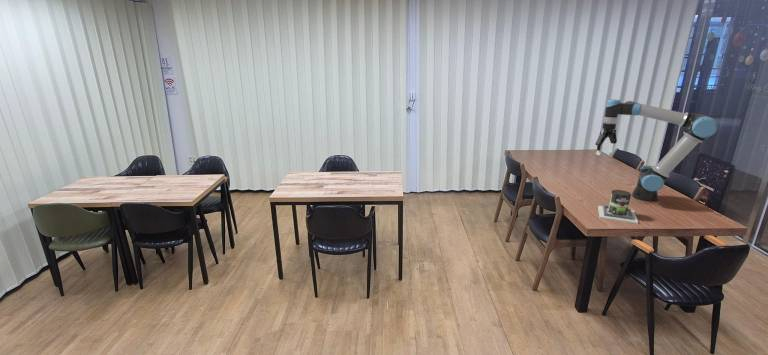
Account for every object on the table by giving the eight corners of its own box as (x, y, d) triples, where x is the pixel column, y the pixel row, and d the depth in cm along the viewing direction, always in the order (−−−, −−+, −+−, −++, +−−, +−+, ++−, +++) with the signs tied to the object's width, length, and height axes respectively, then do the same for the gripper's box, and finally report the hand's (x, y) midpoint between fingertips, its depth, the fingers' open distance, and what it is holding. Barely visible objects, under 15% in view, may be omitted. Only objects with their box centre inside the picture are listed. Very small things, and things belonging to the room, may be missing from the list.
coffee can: (629, 217, 222) (634, 196, 217) (610, 216, 224) (615, 194, 220) (623, 210, 231) (627, 190, 227) (605, 209, 233) (609, 189, 229)
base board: (633, 211, 232) (634, 208, 231) (638, 223, 215) (638, 220, 214) (598, 206, 241) (598, 203, 240) (599, 218, 224) (600, 214, 223)
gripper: (615, 120, 251) (609, 150, 257) (592, 124, 240) (587, 154, 246) (626, 122, 244) (620, 152, 251) (603, 125, 233) (598, 157, 240)
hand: (604, 153), depth 249 cm, fingers open, 13 cm apart
